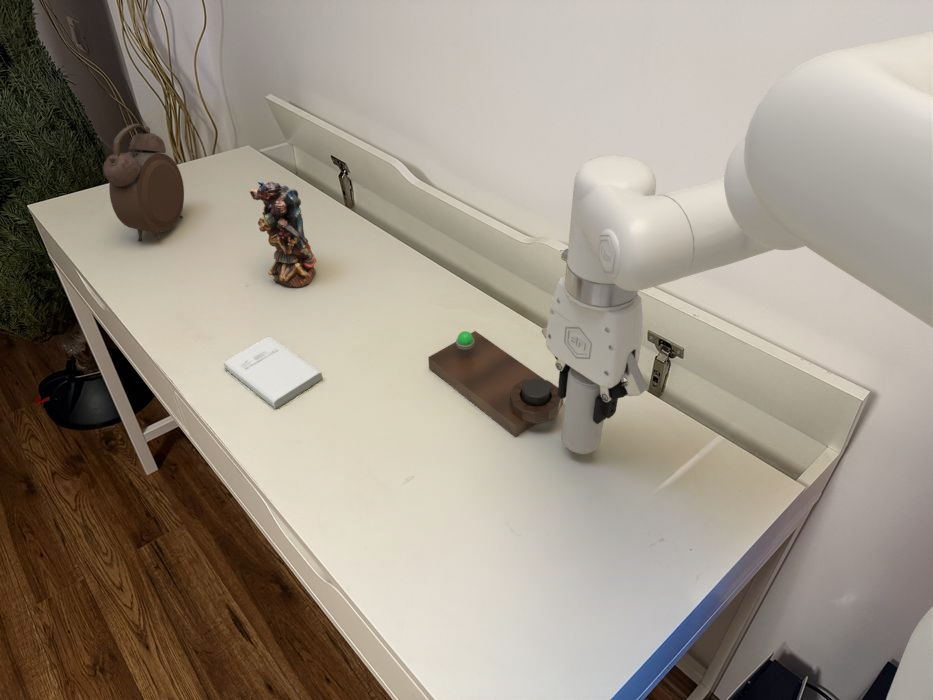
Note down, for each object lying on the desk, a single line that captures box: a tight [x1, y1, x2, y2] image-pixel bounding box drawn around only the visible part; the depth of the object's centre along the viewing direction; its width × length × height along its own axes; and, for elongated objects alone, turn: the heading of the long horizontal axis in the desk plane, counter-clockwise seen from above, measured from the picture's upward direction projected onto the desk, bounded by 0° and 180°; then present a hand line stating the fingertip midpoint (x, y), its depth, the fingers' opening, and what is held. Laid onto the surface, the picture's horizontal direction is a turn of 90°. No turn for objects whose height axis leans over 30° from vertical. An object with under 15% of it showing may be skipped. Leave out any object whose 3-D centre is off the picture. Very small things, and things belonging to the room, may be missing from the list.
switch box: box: [427, 330, 564, 438], centre depth 96 cm, size 20×9×4 cm, turn 41°
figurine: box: [249, 180, 317, 288], centre depth 113 cm, size 11×9×18 cm
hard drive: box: [223, 336, 323, 409], centre depth 100 cm, size 2×8×12 cm
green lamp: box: [455, 330, 475, 350], centre depth 98 cm, size 3×3×2 cm
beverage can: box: [561, 367, 605, 455], centre depth 83 cm, size 5×5×12 cm
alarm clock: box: [102, 123, 185, 242], centre depth 126 cm, size 15×7×20 cm, turn 169°
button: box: [522, 378, 550, 407], centre depth 90 cm, size 4×4×2 cm
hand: (585, 403), depth 83 cm, fingers closed on beverage can, 4 cm apart
